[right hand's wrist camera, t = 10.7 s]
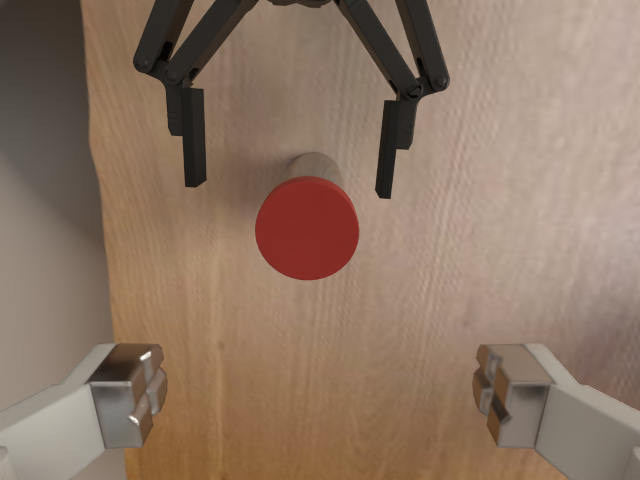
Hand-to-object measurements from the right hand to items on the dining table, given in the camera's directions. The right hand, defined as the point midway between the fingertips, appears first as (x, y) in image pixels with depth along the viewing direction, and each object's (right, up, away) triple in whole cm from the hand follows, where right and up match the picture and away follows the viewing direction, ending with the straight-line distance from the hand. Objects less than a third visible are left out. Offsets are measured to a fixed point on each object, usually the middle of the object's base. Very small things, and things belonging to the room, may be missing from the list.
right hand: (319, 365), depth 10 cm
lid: (-1, +4, +12) cm, 12 cm away
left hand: (-2, +7, +19) cm, 20 cm away
